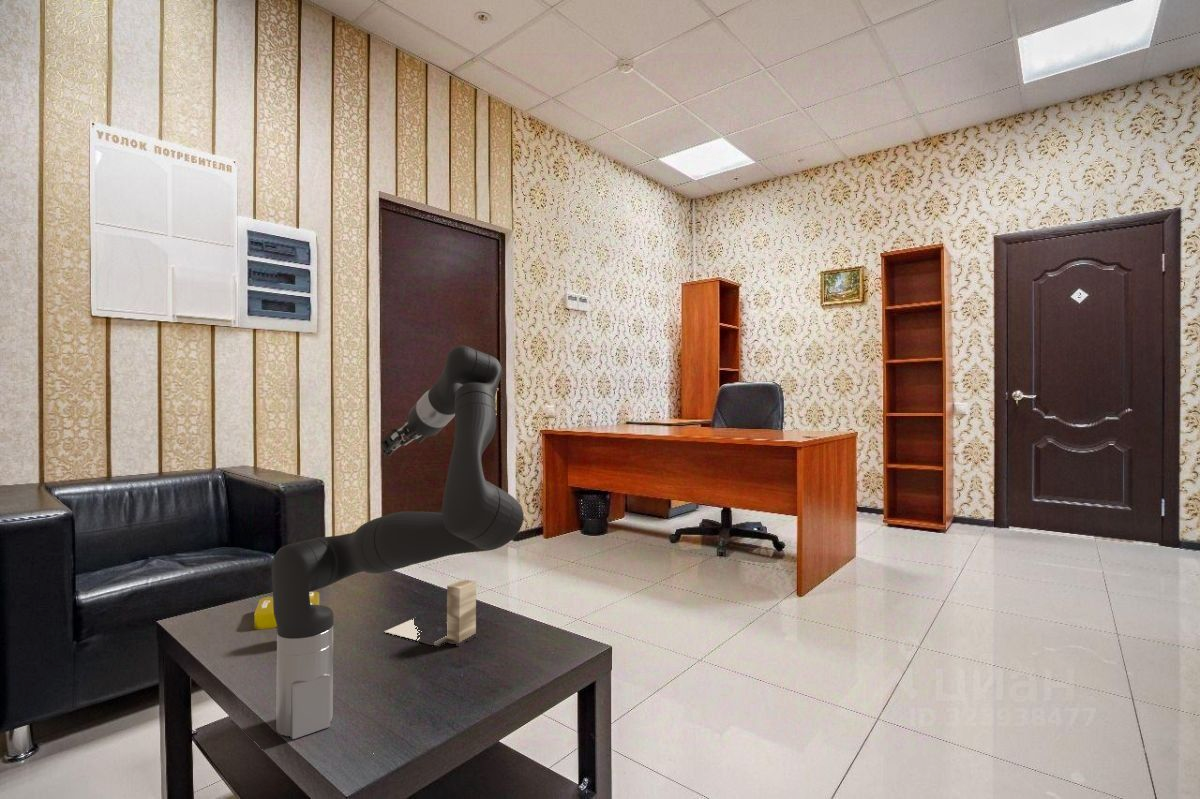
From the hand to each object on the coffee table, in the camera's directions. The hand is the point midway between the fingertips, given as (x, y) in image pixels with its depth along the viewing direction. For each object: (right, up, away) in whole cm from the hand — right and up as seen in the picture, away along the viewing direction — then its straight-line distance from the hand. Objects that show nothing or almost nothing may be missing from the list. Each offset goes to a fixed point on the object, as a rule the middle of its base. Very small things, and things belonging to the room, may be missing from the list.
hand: (401, 445), depth 127 cm
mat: (0, -49, +19) cm, 53 cm away
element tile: (-42, -50, +30) cm, 71 cm away
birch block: (+10, -49, +14) cm, 52 cm away
